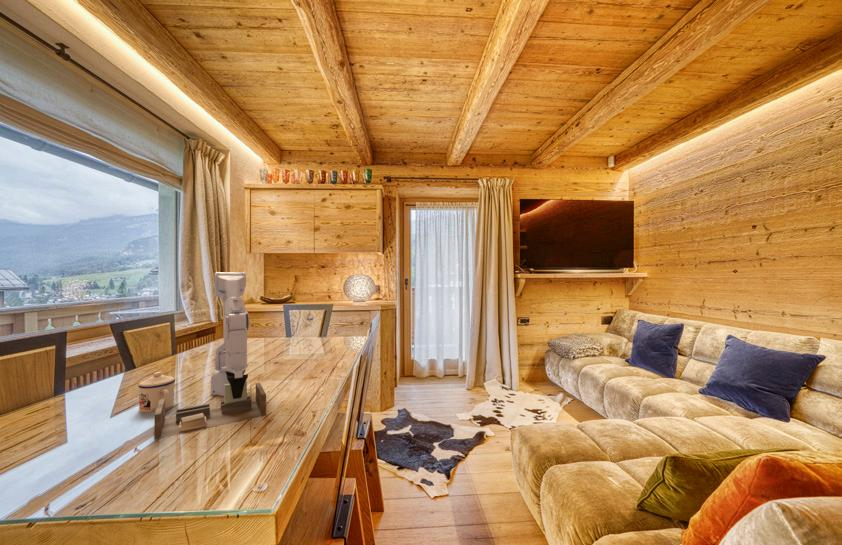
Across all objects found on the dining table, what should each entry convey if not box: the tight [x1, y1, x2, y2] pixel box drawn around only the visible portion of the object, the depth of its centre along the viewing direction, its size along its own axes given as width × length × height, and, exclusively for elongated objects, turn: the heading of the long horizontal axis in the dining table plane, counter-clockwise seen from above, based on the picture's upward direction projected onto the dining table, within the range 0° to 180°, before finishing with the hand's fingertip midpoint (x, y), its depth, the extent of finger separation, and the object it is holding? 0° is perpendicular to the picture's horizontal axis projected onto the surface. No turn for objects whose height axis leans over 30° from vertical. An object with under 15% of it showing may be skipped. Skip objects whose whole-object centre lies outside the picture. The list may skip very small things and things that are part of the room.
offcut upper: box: [181, 413, 205, 427], centre depth 90 cm, size 3×5×1 cm
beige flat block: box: [223, 380, 248, 404], centre depth 102 cm, size 2×6×8 cm, turn 124°
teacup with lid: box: [138, 371, 176, 413], centre depth 104 cm, size 12×9×12 cm
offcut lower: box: [179, 417, 206, 432], centre depth 90 cm, size 4×6×1 cm, turn 124°
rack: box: [153, 382, 267, 440], centre depth 96 cm, size 14×26×7 cm, turn 124°
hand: (236, 395), depth 102 cm, fingers open, 5 cm apart
